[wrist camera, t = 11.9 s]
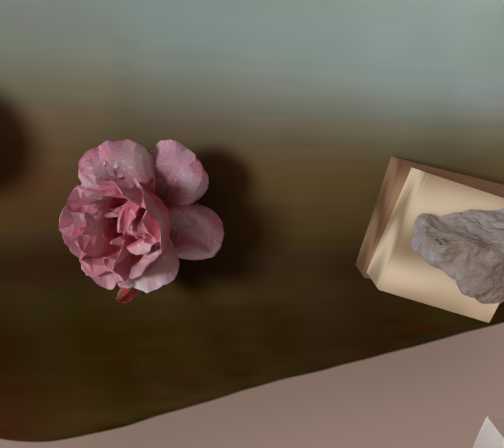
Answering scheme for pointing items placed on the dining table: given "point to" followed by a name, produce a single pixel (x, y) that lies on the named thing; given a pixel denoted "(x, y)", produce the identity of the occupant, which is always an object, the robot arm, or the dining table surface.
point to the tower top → (411, 262)
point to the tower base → (391, 193)
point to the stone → (465, 250)
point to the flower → (139, 215)
